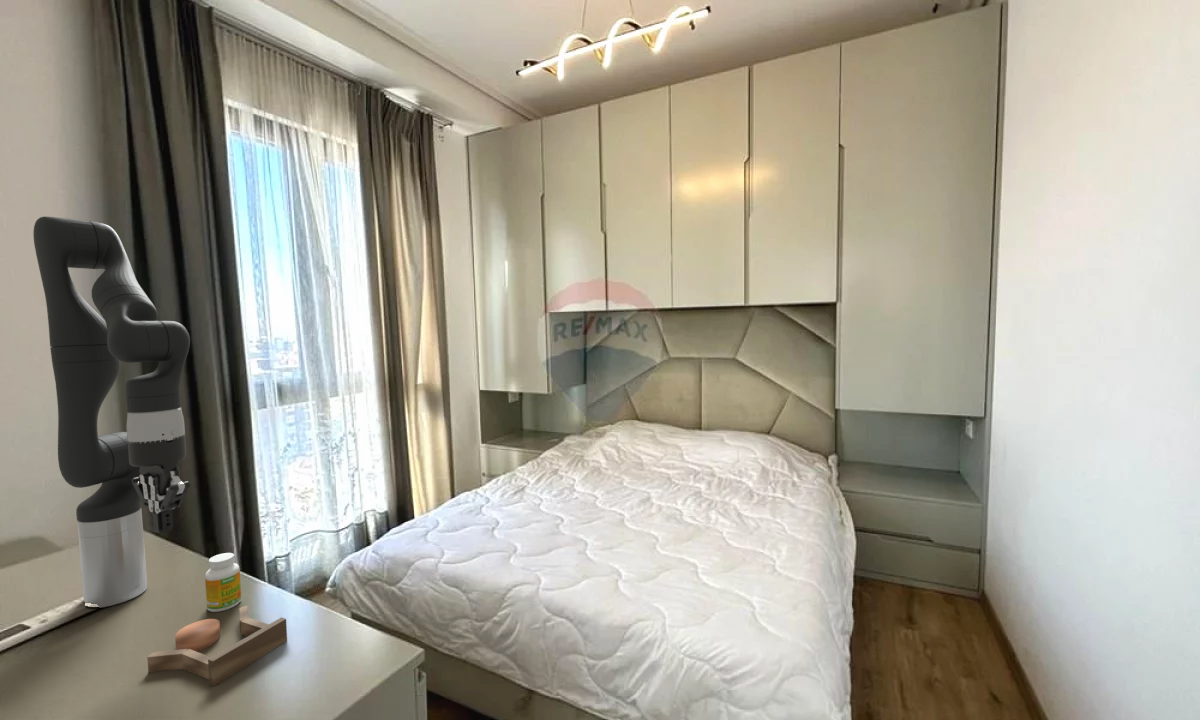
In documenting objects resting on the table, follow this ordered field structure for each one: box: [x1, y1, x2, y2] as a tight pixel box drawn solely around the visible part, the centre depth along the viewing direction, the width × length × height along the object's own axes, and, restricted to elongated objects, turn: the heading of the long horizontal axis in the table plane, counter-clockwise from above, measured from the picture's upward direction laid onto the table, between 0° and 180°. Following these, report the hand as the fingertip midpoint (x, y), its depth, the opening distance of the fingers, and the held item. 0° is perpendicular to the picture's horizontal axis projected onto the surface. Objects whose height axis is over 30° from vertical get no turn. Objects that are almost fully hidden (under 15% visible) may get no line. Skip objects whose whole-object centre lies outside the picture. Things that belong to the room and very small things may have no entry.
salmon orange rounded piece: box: [174, 618, 221, 652], centre depth 86 cm, size 6×6×2 cm
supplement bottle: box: [204, 552, 242, 613], centre depth 97 cm, size 5×5×10 cm
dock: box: [146, 605, 288, 687], centre depth 83 cm, size 14×15×4 cm
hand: (163, 531), depth 87 cm, fingers closed
